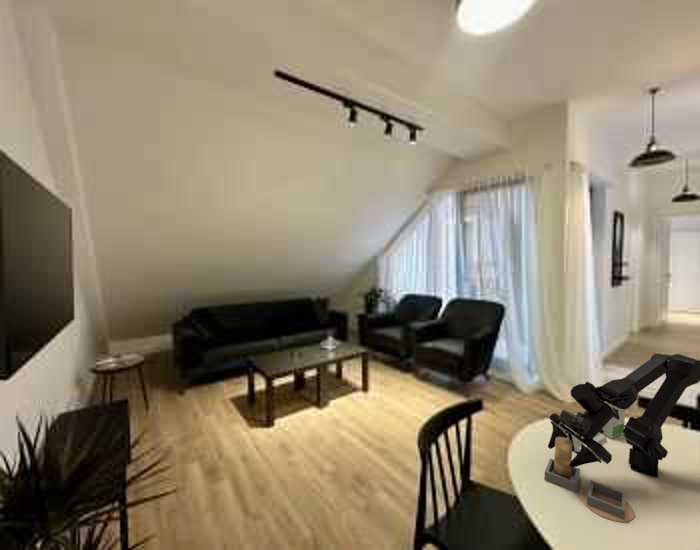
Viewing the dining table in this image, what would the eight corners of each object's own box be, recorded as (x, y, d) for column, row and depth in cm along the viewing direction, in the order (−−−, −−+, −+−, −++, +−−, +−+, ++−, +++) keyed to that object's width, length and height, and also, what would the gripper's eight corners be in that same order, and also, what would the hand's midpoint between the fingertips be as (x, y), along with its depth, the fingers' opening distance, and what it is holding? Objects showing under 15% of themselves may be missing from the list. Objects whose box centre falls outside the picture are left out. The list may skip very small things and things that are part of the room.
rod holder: (579, 476, 103) (580, 469, 103) (575, 491, 97) (576, 483, 97) (549, 465, 108) (550, 458, 108) (544, 479, 102) (544, 471, 102)
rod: (571, 477, 103) (573, 440, 102) (569, 485, 100) (571, 447, 98) (555, 470, 106) (556, 435, 104) (552, 478, 102) (554, 441, 101)
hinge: (583, 457, 112) (574, 425, 114) (569, 454, 116) (560, 424, 118) (607, 441, 120) (598, 412, 122) (593, 439, 124) (584, 411, 126)
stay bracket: (634, 501, 93) (635, 492, 93) (634, 530, 84) (635, 520, 84) (582, 481, 101) (583, 473, 101) (577, 506, 92) (577, 496, 92)
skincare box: (611, 439, 122) (614, 398, 120) (591, 429, 128) (594, 390, 126) (624, 433, 125) (627, 393, 123) (605, 424, 131) (608, 386, 129)
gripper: (555, 389, 110) (522, 424, 110) (605, 419, 91) (566, 461, 91) (575, 409, 112) (543, 444, 111) (629, 443, 93) (590, 484, 93)
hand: (559, 456), depth 102 cm, fingers open, 8 cm apart
